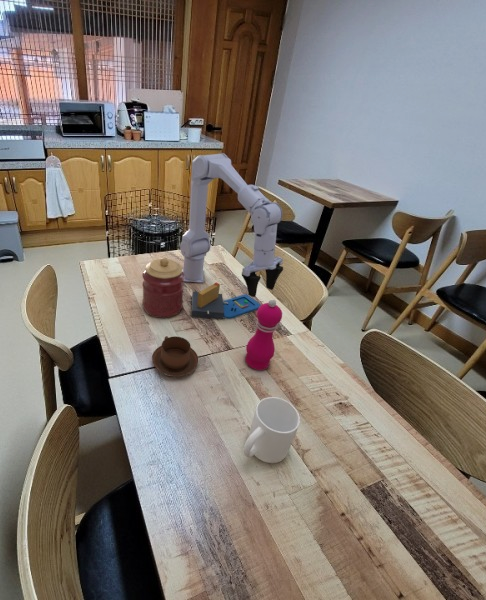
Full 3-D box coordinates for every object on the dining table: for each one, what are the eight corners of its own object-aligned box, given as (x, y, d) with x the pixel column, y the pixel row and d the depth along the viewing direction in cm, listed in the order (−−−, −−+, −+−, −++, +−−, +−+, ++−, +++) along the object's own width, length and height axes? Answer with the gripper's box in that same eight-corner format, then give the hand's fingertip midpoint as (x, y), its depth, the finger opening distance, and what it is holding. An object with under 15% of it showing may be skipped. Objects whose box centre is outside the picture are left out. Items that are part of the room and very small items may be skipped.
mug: (255, 483, 64) (266, 451, 58) (225, 449, 69) (232, 417, 63) (295, 451, 70) (309, 419, 64) (265, 422, 75) (275, 390, 69)
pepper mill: (275, 362, 91) (294, 300, 80) (261, 376, 87) (279, 313, 76) (252, 348, 95) (267, 288, 84) (238, 361, 91) (251, 299, 79)
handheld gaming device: (211, 304, 111) (246, 293, 118) (210, 306, 112) (245, 295, 118) (226, 317, 105) (262, 305, 112) (226, 320, 106) (261, 308, 113)
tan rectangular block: (200, 308, 106) (202, 294, 103) (196, 306, 107) (198, 292, 104) (218, 297, 112) (220, 283, 109) (214, 295, 112) (216, 281, 110)
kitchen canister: (187, 316, 106) (191, 266, 96) (146, 320, 103) (146, 270, 93) (176, 294, 117) (180, 247, 107) (139, 297, 114) (139, 249, 104)
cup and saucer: (142, 363, 88) (142, 345, 85) (173, 342, 96) (175, 324, 92) (176, 388, 82) (177, 370, 78) (206, 363, 89) (209, 346, 86)
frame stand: (186, 318, 105) (186, 311, 104) (187, 295, 116) (187, 289, 115) (228, 321, 105) (229, 315, 104) (225, 298, 116) (226, 291, 115)
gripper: (256, 257, 88) (253, 303, 94) (293, 246, 95) (288, 289, 101) (237, 251, 93) (236, 295, 99) (273, 240, 100) (269, 282, 106)
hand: (261, 292), depth 101 cm, fingers open, 7 cm apart
